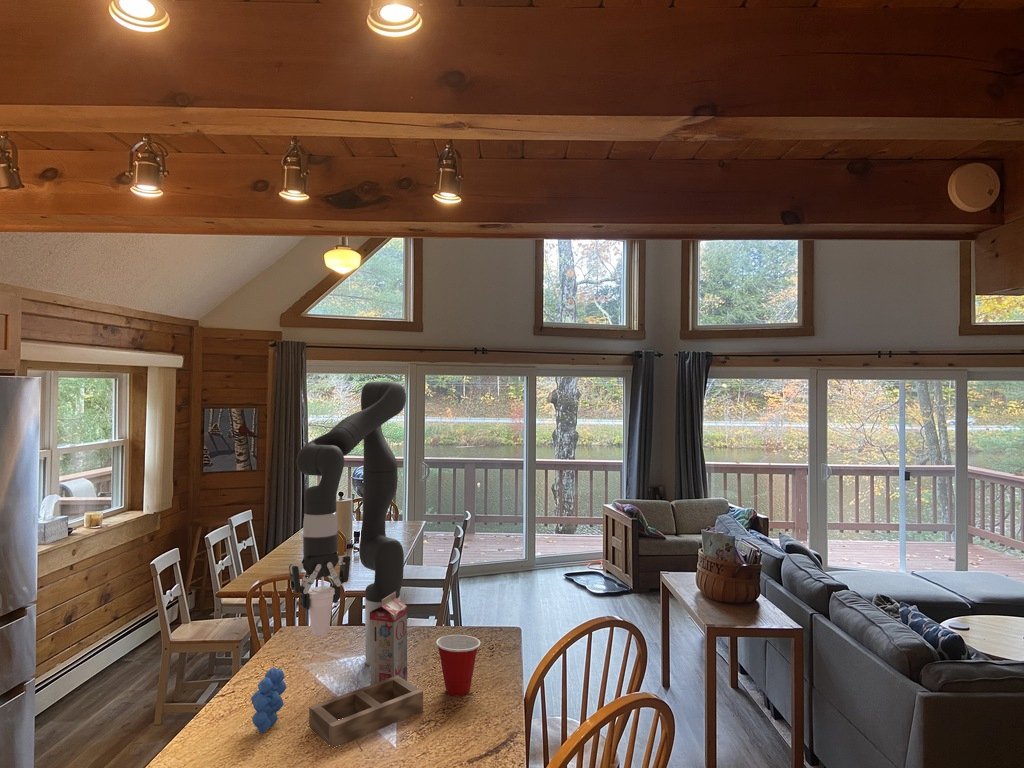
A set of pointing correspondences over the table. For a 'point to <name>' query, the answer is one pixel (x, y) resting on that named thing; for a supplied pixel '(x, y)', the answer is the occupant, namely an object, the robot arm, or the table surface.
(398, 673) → the juice carton
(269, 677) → the grapes
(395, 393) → the robot arm
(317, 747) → the table surface
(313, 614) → the smoothie
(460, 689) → the plastic cup
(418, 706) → the slot rack
